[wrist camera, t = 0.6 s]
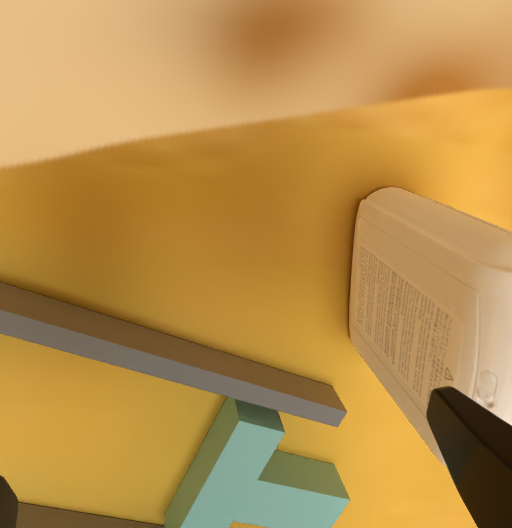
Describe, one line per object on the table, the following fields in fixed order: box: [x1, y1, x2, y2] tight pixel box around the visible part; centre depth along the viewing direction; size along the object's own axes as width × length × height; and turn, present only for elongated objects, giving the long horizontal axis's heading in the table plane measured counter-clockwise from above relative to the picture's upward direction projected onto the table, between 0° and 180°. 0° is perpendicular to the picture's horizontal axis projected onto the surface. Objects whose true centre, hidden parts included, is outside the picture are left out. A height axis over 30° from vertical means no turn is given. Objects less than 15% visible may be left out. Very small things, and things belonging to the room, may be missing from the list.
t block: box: [165, 397, 350, 528], centre depth 28 cm, size 11×10×3 cm
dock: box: [0, 282, 347, 528], centre depth 25 cm, size 15×23×3 cm
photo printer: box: [349, 187, 512, 467], centre depth 20 cm, size 10×4×12 cm, turn 1°
